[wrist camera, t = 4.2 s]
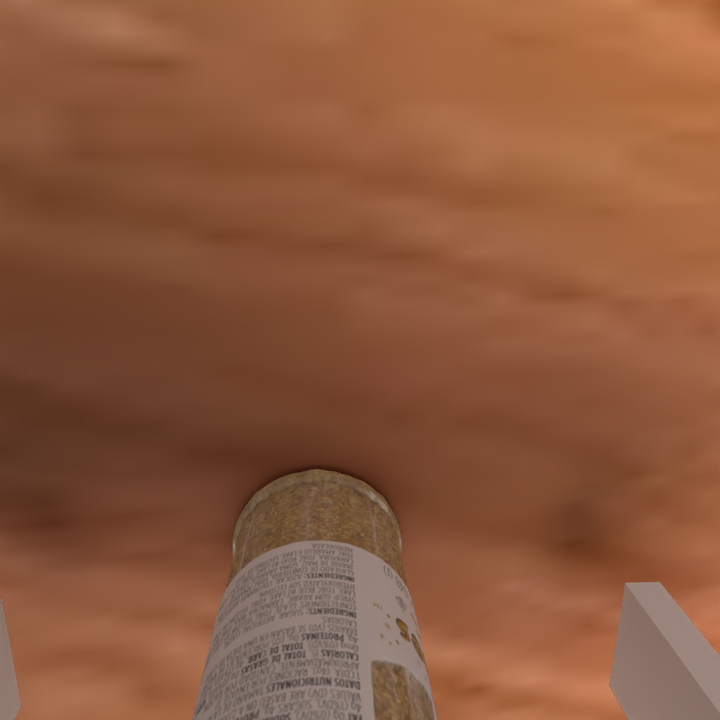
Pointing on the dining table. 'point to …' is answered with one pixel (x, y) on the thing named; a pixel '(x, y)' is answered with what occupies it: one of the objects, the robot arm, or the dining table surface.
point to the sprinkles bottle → (316, 611)
